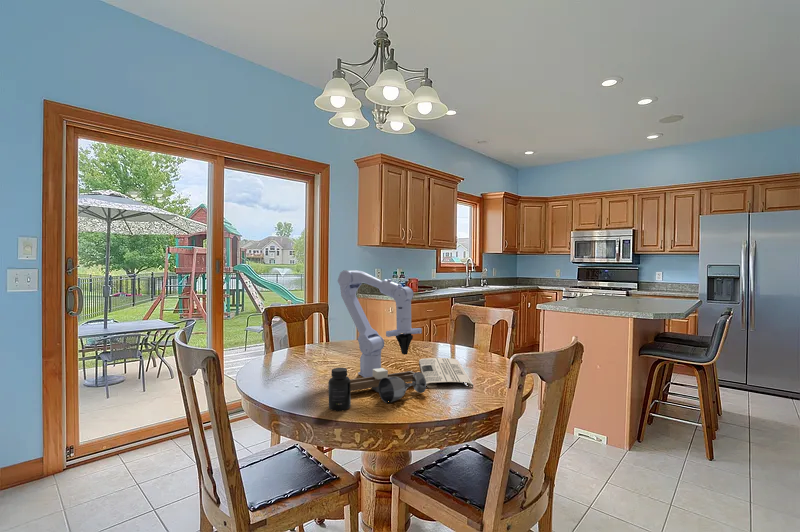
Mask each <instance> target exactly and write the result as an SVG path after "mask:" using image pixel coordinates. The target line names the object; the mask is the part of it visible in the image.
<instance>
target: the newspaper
mask: <svg viewBox="0 0 800 532" xmlns="http://www.w3.org/2000/svg"><path fill="white" fill-rule="evenodd" d="M418 364H419V368H420V371H421V372H420V373H422V374H423V375H424V377H425V379H426V386H427V387H426V389H427V388H438V385H437V383H438V384H439V383H463V382H465V383H467V385H468V386H469V387H468V388H471V386H472V388H474V383H473V382H472V380H471V379H470V377H469V375H468V374H467V372H466V371H465V369H464V367H463V366H462V365H461V363H460V361H459V360H457V359H456V358H451V357H450V358H448V357H430V358H428V357H427V358H421V359H418Z"/></svg>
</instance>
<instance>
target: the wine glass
mask: <svg viewBox="0 0 800 532" xmlns="http://www.w3.org/2000/svg"><path fill="white" fill-rule="evenodd" d="M411 386H412V387H413V389H414V391H415V392H417V393H418V394H423V393H424V392H425V391H426V389H427V388H426V379H425V377H424V375H423V374H422V373H421V372H419V371H416V372H415V374H414V375H413V378H412V382H404V381H403V380H402V379H401V378H399V377H386V378H382V379H381V380H380V382H379V386H378V390H379V392H378V394H379V397H380V399H381V400H382V401H383V402H384V403H386V404H389V403H393V402H396V401H399V400H400V399H401V398H403V397H404V396H405V394H406V391H407V389H408V388H410V387H411ZM388 401H389V402H388Z"/></svg>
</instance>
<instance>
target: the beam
mask: <svg viewBox="0 0 800 532" xmlns="http://www.w3.org/2000/svg"><path fill="white" fill-rule="evenodd" d="M415 373H416V372H415V371H412V370H409V371H401V372H394V373H388V377H399V378H401V379H402V380H403V381H404V382H405V383H412V378H413V375H414V374H415ZM349 379H350V378H349ZM380 380H381V379H375V378H374V377H373V376H372V377H365V378H364V377H359V378H351V379H350V389H351V392H352V391H358V390H359V391H360V390H365V389H372V390H373V391H374V392H375V393H379V390H378V386H379V382H380Z"/></svg>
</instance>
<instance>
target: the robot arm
mask: <svg viewBox="0 0 800 532" xmlns="http://www.w3.org/2000/svg"><path fill="white" fill-rule="evenodd" d="M337 283H338V284H339V286H340V289H339V290H340V296H341V299H342V301H343V302H344V304H345V306H346V309H347V311H348V313H349V315H350V318H351V320H352V322H353V324H354V326H355V327H356V330H357V332H358V337H357V342H358V345H359V351H360V352H361V355H360V358H359V363H360V364H359V367H360V368H359V370H360V371H359V372H357V374H358V375H360V376H361V378H365V377H372V376H373V369H378V368H382V350H383V349H384V347H385V340H384V338H383V337H382V336H381V335H380V334H379V332H378V331H377V330H376V329H374V328H372V326H371V324H370V321H369V320H368V317H367V315H366V313H365V311H364V309H363V307H362V305H361V303H360V301H359V299H358V297H357V295H356V294H357V291H359V288H360V286H362V284H366V285H369V286H372V287H373V288H377V289H378V290H379V292H380V293H381V294H383V295H385V296H388V297H390V298H392V299H393V300H394V302H395V306H396V309H395V310H396V312H395V313H396V317H395V318H396V329H393V330H386V331H385V337H388V338H391V337H395V339H396V340H397V342H398V345H399V347H400V352H401V355H408V352H409V348H410V345H411V342H412V340H413V339H414V336H413V335H417V334H419V335H420V334H422V332H423V330H422V329H423V328H421V327H417V328H416V327H415V328H414V327H413V328H412V299H413V298H414V296H415V295H414V291H413V289H412V288H411V287H410V286H408V285H406V286H403V285H402V284H401V283H396V282H393V279H391V278H388V279H383V280H381V279H379V278H378V277H375V276H373V275H371V274H369V273H367V272H365V271H362V270H359V269H354V270H348V269H345V270H342V271H341V272H339V276H338V278H337Z"/></svg>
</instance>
